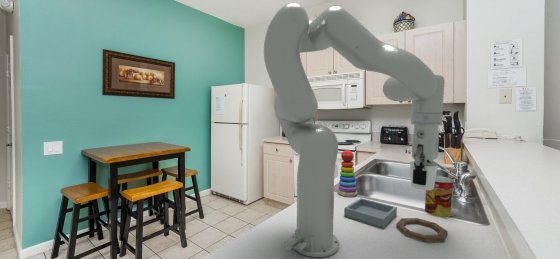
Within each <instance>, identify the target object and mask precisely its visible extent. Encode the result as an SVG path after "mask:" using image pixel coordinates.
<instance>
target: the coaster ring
mask: <svg viewBox="0 0 560 259" xmlns="http://www.w3.org/2000/svg"><path fill="white" fill-rule="evenodd" d="M406 225H420V226H424V227H427V228H431V229H432V230H434V231H435V232H437V233H438V234H423V233H422V234H421V233H419V232H415V231H412V230H410V229H408V228H407V226H406ZM395 228H396V229H397V230H398V231H399V232H400V233H401V234H403V235H404V236H405V237H408V238H411V239H413V240H416V241H420V242H424V243H426V244H428V243H430V244H431V243H445V241H446V239H447V237H448V234H449V233H448V232H449V231H448V230H447V229H445V228H444V227H442V226H441V225H439V224H438V223H436V222H432V221H429V220H426V219H421V218H418V217H410V218H409V217H406V218H404V217H401V218H400V219H399V220H398V222H396V224H395Z"/></svg>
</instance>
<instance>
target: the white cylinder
mask: <svg viewBox="0 0 560 259" xmlns="http://www.w3.org/2000/svg"><path fill="white" fill-rule="evenodd" d="M414 162H415V161H410V162H409V166H410V168H409V170H410V185H411V186H410V187H412V188H414V189H417V190H421V191H426V190H433V189H434V184H435V178H436V176H437V173H438V172H437V171H438V166H439V165H438V164H436V163H430V162H427V164H426V170H425V171H427V176H426V185H419V184H414V183H413V167H414ZM422 163H424V162H422Z"/></svg>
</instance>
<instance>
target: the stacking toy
mask: <svg viewBox="0 0 560 259" xmlns="http://www.w3.org/2000/svg"><path fill="white" fill-rule="evenodd" d="M340 158H341V160H342V161H341V164H340V165H341V167H340V171H339V174H340V175H339V181H338V190H337V193H338V194H339V195H340V196H343V197H347V198H349V197H350V198H351V197H352V198H353V197H356V196H357V195H358V191H357V189H358V187H357V180H356V179H357V178H356V176H355V174H356V173H355V167H354V164H355V163H354V162H353V160H354V158H355V156H354V153H353V151H351V150H349V149H345V150H343V151H342V152H341V154H340Z"/></svg>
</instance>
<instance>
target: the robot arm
mask: <svg viewBox="0 0 560 259" xmlns="http://www.w3.org/2000/svg"><path fill="white" fill-rule="evenodd" d="M308 14H309V13H308V12H307V10H306V9H305V8H304V7H303V6H302V5H301V4H299V3H296V2H295V3H294V2H293V3H291V2H290V3H288V4H285V5H284V6H282V7H280V9H278V11H277V12H276V13H275V15H274V16H273V17H272V20H271V21H270V23H269V25H268V27H267V29H266V32H265V33H266V34H265V37H264V45H263V60H264V65H265V68H266V71H267V74H268V77H269V79H270V83H271V85H272V87H273V89H274V92H275V95H276V96H275V98H274V102H273V104H274V105H273V107H274V108H273V109H274V113H275V116H276V118H277V120H278V122H279V124H280V127H281V129H282V132H283V133H284V135H285V138H286V140H287V142H288V144H289V146H290V148H291V149H292V150H293V151H294V153H296V154H297V155H299V158H298V159H299V160H298V165H297V172H296V229H295V230H294V232H293V234H292V235H291V236H290V239H289V240H287V241H286V242H285V248H286V249H287V250H288V251H291V250H292V249H293V250H295V251H296V252H297V253H298V254H301V255H303V256H307V257H312V258H325V257H329V256H332V255H334V254H335V253H336V252H338V250H339V248H340V241H339V239H338V237H337V236H336V235H335V234H334V209H335V208H334V207H335V204H334V203H335V172H336V171H335V169H336V164H337V159H338V152H339V141H338V137H337V136H336V133H334V131H333V130H332V129H331V128H329V127H328V126H325V125H323V124H318V123H315V121H314V117H315V116H316V114H317V113H318V108H319V104H318V100H317V97H316V95H315V93H314V91H313V88H312V86H311V84H310V81H309V79H308V76H307V74H306V71H305V69H304V65H303V62H302V59H301V53H310V52H311V53H312V52H318V51H324V50H327V49H329V48H330V47H331V48H332V49H333V50H335V51H336V52H337V53H338V54H340V55H341V57H343V58H344V59H346V61H347V62H349V63H350V64H351V65H352V66H354V67H355V68H356V69H359V70H363V71H367V72H374V73H380V74H384V75H385V76H386V75H387V76H388V77H389V78H387V79H386V80H385V81H384V84H383V85H382V92H383V94H384V96H385V97H386V98H387V99H388V100H390V101H393V102H407V101H408V102H409V101H411V118H410V125H414V126H413V133H412V134H413V135H412V143H411V144H412V146H411V157H412V159H413V160H414V161H415V162H414V167H413V183H414V184H419V185H426V176H427V171H425V170H426V164H427V162H430V163H433V162H434V161H435V160H436V159H437V158H438V157H439V141H440V140H439V135H440V134H439V126H442V125H443V124H442V123H443V111H444V96H445V95H444V94H445V83H446V82H445V81H446V80H445V78H444V76H443V75H440V74H435V73H434V71H432V70H431V68H430V67H429V66H428V65H427V64H426V63H424V61H423V60H421V59H420V58H419V57H418V56H416V55H415V54H414V53H412V52H409V51H408V50H405V49H402V48H399V46H398V47H397V46H395V45H392V44H389V43H386V42H383V41H381V40H380V39H379V38H377V37H376V36H375V35H374V34H373V33H372V32H371V31H370V30H369V29H367V28H366V27H365V25H363V24H362V23H361V22H360V21H359V20H358V19H356V18H355V17H354V16H353V15H352V14H351V13H350V12H348V10H346V9H345V8H344V7H342V6H339V5H334V6H330V7H327V8H326V9H325V10H323V11H322V12H321V13H320V14H318V16H317V17H316V18H315V19H313V20H310V18H309V15H308ZM422 162H424V163H422Z"/></svg>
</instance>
